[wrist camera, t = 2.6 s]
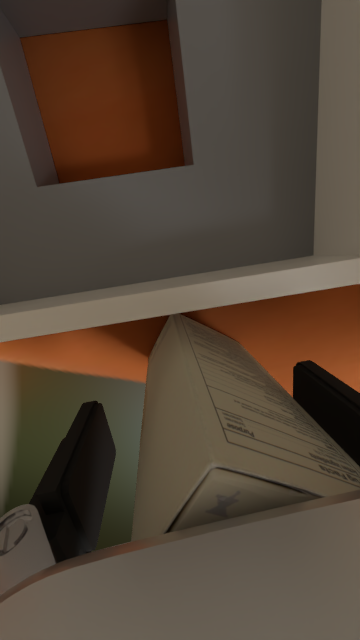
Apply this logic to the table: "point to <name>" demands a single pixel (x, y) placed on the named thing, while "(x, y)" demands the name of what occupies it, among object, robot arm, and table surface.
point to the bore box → (189, 169)
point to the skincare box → (224, 437)
